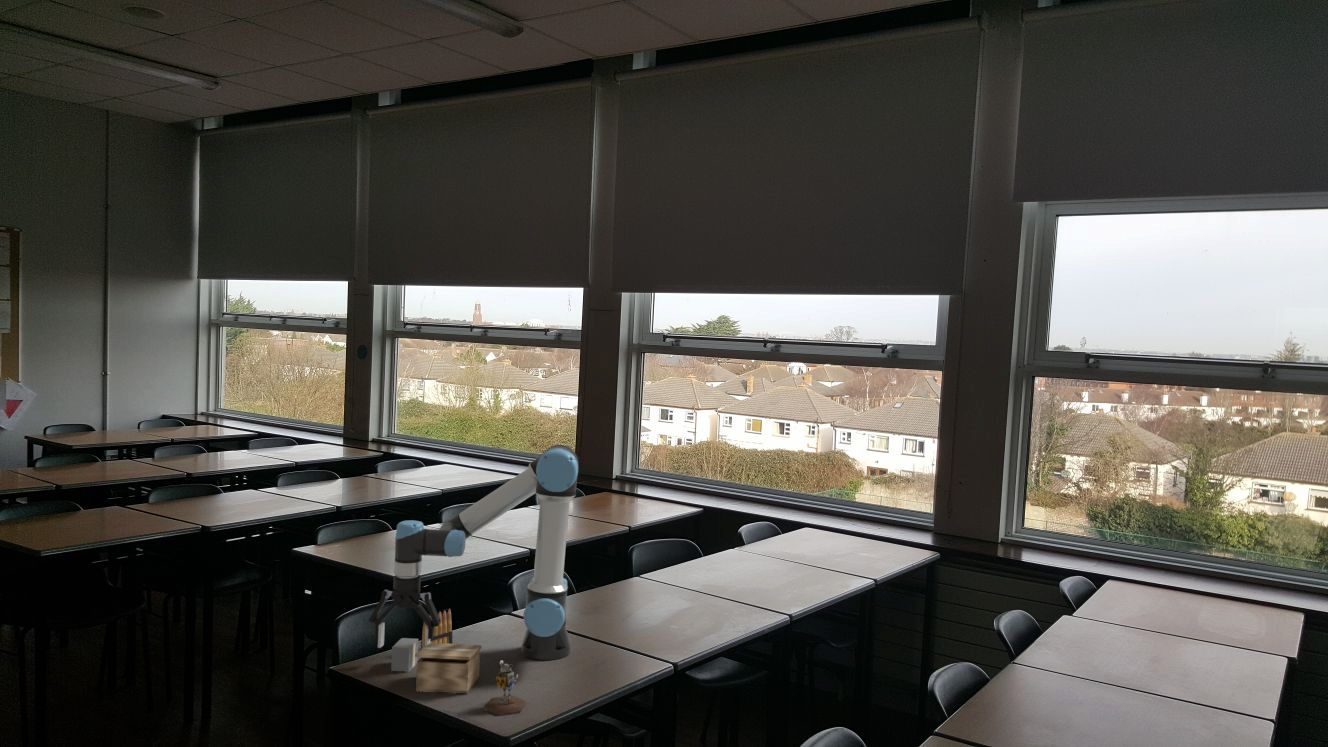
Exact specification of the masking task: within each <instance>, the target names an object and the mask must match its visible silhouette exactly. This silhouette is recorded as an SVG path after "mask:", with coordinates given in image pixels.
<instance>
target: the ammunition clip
mask: <svg viewBox="0 0 1328 747" xmlns="http://www.w3.org/2000/svg"><path fill="white" fill-rule="evenodd" d="M429 616H430V615H429ZM438 616H439V618H440V620H441V623H440V624H439V625H438V626H437V627H434V636H433V638H432V639H430V643H446V644H453V630H452V627H453V626H452V612H451V608H449V609H448V611H446V610H445V609H444V610H443V612H442V611H438ZM430 617H431V616H430ZM431 619H432V618H431ZM426 627H427V625H426V624H425V622H424V621H423V625H422V635H421V636H422V637H421V641H420V650H421V649H422V648H423V647H425V628H426Z"/></svg>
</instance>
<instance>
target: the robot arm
mask: <svg viewBox="0 0 1328 747" xmlns="http://www.w3.org/2000/svg"><path fill="white" fill-rule="evenodd" d="M579 466H580V465H579V458H578V456H577V454H576V452H575V451H574V450H573V449H572V448H571V447H569V446H567V445H564V444H555V445H552V446H550V447H548V448H547V449H545V450H544V451H543V453H542V454H541V455H539V456H538V457H537V458H535V459H534V460H532V461H531V462H530V463H528V467H527V469H525V470H523V471H522V472H520V473H519V474H518V475H516V476H514V477H513V478H511V479H510V480H508V481H507V482H505V483H504V484H502V485H501V486H499V487H498V488H495V490H493V491H491V492H490V493H489V494H487V495H485V496H484V497H483V498H481V499H480V500H478V501H476V502H475V503H473V504H472V505H470V506H468V507H467V508H466V509H464V510H463V511H461V512H459V513H458V514H457V515H456V516H454V517H452V518H450V519H448V520H445V521H444V522H443V523H442V525H441V526H440V528H439V529H432V528H431V529H429V528H425V526H424V522H422V521H419V520H413V519H411V520H403V521H400V522H399V523H398V524H397V525H396V532H395V537H394V538H395V539H394V540H395V546H394V548H395V549H394V568H393V574H394V576H393V583H392V584H393V585H392V588H393V590H390V589H388V588H386V589H384V590H383V591H381V596H380V600H379V601H378V603H377V605H376V607H375V608H374V609H373V612H372V613H371V615H370V617H369V620H368V621H369V623H373V624H374V625H375V628H374V629H375V632H374V634H375V636H377V649H381V648H382V647H383V646H384V645H385V630H386V628H385V624H386V623H385V622H383V621H384V620H385V619H386V618H387V617H388V616H389V614H391V613H392V611H393V610H394V609H395V608H396V607H399V608H400V609H401V608H406V609H412V610H414V611H415V612H416V613H417V614H418V616H419V617H420V619H422V621H423V623H424V622H425V624H426V625H427V627H426V628H425V646H426V645H427V644H429V643H430V639H432V638H433V636H434V627H437V626H438V625H439V624H440V623H441V620H440V618H439V616H438V614H439V612H438V611H437V609H436V606H435V604H434V601H433V600H432V593H431V591H428V592H423V593H422V592H421V582H422V580H421V579H422V577H421V573H422V561H423V560H422V559H423V557H422V556H430V557H431V556H432V557H448V558H453V557H454V558H455V557H461V556H463V555H464V554H465V549H466V540H467V539H468V538H470V537H471V536H473V534H475V533H477V532H478V531H480V530H481V529H483V528H484V527H486V526H488V525H489V524H490V523H492V522H494V521H495V520H497V519H498V518H500V517H501V516H503V515H504V514H506V513H507V512H509V511H510V510H512V509H514V508H515V507H516V506H518V505H519V504H521V503H522V502H524V501H526V500H527V499H529V498H530V497H532V496H533V495H535V494H536V496H537V497H538V498H539V499H540V500H539V510H538V520H537V530H536V531H537V534H536V546H535V554H534V555H535V556H534V557H535V558H534V567H533V568H534V569H533V577H532V578H530V580H529V583H528V584H527V587H526V588H527V589H526V598H525V599H526V600H525V608H524V610H523V611H524V612H523V621H524V625H525V627H526V632H525V635H524V637H523V640H522V643H521V651H520V652H521V654H522V656H524V657H526V658H529V659H533V660H540V661H541V660H542V661H549V660H551V661H552V660H556V659H557V660H558V659H563V658H566V657H567V656H569V655H570V654H571V651H572V645H571V644H572V643H571V640H570V636H569V633H568V629H567V608H568V607H567V605H568V604H567V602H568V600H567V599H568V596H567V595H568V589H569V586H568V580H567V579H566V578H564V571H565V560H566V559H565V558H566V548H567V538H568V537H567V536H568V524H569V516H570V514H569V512H570V503H571V501H572V499H574V498H575V497H576V495H577V494H576V492H577V485H578V484H577V482H578V475H579ZM390 597H391V598H392V599H393V603H391V604H390V605H389V607H388V608H387V609H385V611H384V612H383V613H382V614H381V615H380V613H381V611H382V609H383V607H384V606H385V604H386V602H387V600H388V599H389V598H390ZM420 599H422V601H423V602H424V603H425V607H426V609H427V611H428V612H427V611H426V609H425V608H424V606H423V604H422V602H420ZM379 615H380V616H379ZM378 616H379V617H378ZM430 616H431V617H430ZM431 618H432V619H431Z"/></svg>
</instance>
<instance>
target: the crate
mask: <svg viewBox="0 0 1328 747" xmlns="http://www.w3.org/2000/svg"><path fill="white" fill-rule="evenodd" d="M480 651H481V649H480V650H479V651H478V652H477V653H476V654H475V655H474V656H473V657H472V658H471V659H470V660H461V659H441V658H422V657H419V658H418V661H417V664H416V679H415V683H416V684H415V691H416V692H419V691H420V692H421V693H437V692H452V693H451V694H456V693H468V692H470V691H471V690H470V689H472V688H473V687H474V685H475V684H476V682H477V681H478V679H479V677H480V658H481V657H480V656H481V652H480ZM474 683H475V684H474ZM472 686H473V687H472ZM422 691H423V692H422ZM468 694H469V693H468Z"/></svg>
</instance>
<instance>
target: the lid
mask: <svg viewBox="0 0 1328 747" xmlns="http://www.w3.org/2000/svg"><path fill="white" fill-rule="evenodd" d="M481 649H482V645H481V644H466V643H465V644H464V643H463V644H461V643H460V644H459V643H452V644H446V643H429V644H427V645H426V646H425V647H423V648H422V649H421V648H420V649H419V650H418V652H417V653H416V654H415V657H418V658H421V657H422V658H441V659H461V660H470V659H471V658H472V657H473V656H474V655H475V654H476V653H477V652H478V651H479V650H480V651H481Z"/></svg>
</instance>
